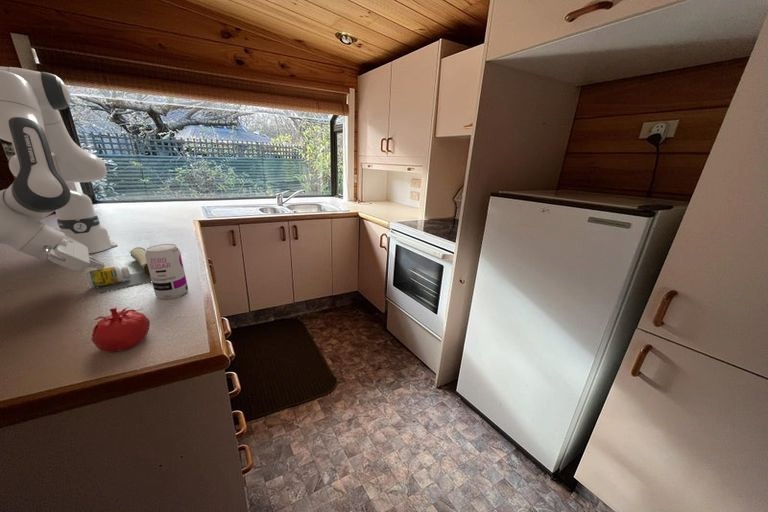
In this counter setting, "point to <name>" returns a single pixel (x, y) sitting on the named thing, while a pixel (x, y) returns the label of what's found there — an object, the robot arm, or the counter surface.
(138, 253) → the rolling pin
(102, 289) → the mat
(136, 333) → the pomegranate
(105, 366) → the counter surface
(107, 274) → the supplement bottle
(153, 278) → the supplement can
